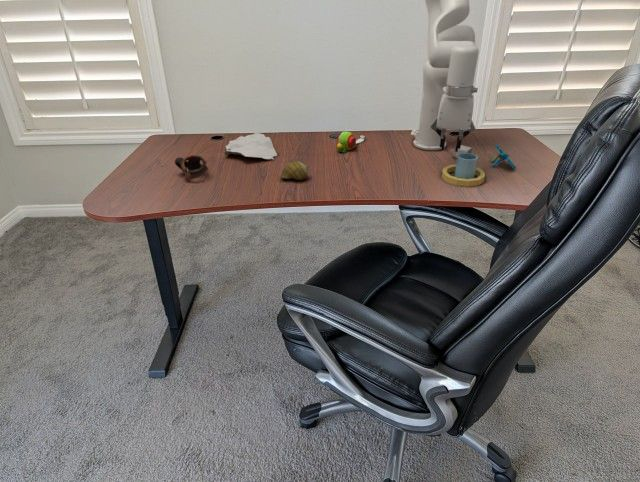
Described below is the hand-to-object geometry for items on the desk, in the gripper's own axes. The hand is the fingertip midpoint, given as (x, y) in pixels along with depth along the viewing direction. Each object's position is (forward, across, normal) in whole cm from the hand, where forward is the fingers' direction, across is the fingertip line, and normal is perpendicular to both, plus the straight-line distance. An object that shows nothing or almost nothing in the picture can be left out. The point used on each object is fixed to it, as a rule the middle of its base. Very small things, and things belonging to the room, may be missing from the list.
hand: (449, 149), depth 136 cm
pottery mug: (+9, +82, +22) cm, 85 cm away
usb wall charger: (+9, -4, -18) cm, 21 cm away
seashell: (+9, +48, +15) cm, 51 cm away
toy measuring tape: (+9, +37, -20) cm, 43 cm away
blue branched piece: (+9, -18, -14) cm, 25 cm away
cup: (+9, -6, 0) cm, 11 cm away
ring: (+9, -6, 0) cm, 11 cm away
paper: (+9, +72, -3) cm, 73 cm away
